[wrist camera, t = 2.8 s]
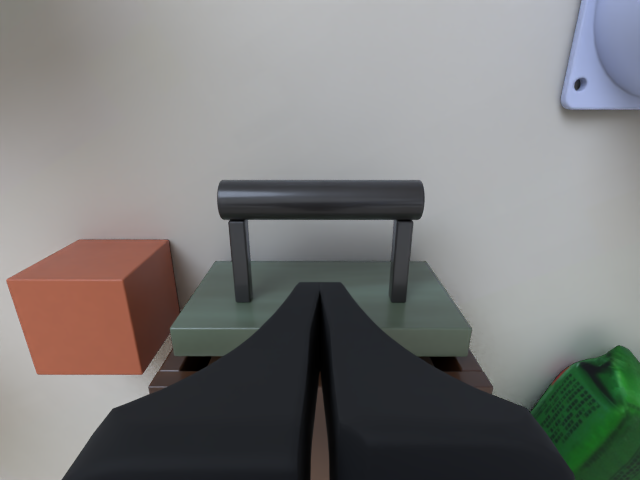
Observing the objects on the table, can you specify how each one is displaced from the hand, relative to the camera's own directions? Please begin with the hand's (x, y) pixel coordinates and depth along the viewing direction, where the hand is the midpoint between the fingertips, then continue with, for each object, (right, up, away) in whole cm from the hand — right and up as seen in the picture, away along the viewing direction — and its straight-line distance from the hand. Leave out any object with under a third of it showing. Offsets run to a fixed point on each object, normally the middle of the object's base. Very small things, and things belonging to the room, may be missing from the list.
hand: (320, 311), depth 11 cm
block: (-10, 0, +8) cm, 13 cm away
